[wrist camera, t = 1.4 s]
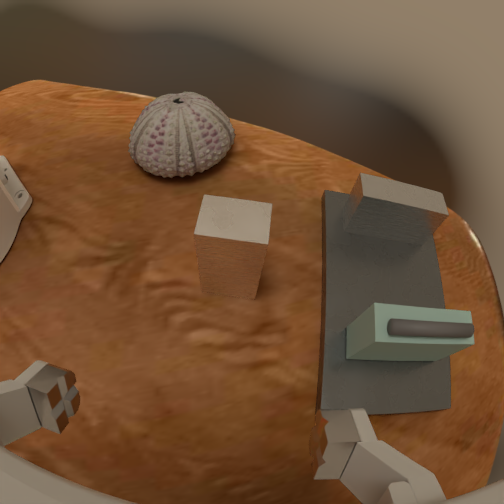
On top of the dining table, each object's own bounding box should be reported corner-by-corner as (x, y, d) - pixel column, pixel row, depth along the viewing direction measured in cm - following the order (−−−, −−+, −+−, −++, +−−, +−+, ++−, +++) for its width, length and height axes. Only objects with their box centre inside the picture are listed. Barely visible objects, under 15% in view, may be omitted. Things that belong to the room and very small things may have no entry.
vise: (442, 409, 25) (490, 399, 18) (315, 414, 25) (345, 411, 18) (421, 217, 37) (449, 180, 31) (321, 197, 37) (339, 152, 30)
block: (254, 299, 30) (268, 244, 21) (202, 292, 30) (193, 234, 21) (258, 267, 32) (272, 203, 23) (208, 260, 32) (204, 194, 23)
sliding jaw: (436, 360, 26) (483, 339, 20) (346, 358, 26) (382, 336, 20) (434, 332, 27) (478, 306, 21) (346, 326, 27) (381, 296, 21)
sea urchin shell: (112, 169, 37) (97, 120, 30) (169, 112, 44) (165, 67, 37) (200, 202, 35) (197, 149, 28) (249, 135, 42) (255, 87, 35)
